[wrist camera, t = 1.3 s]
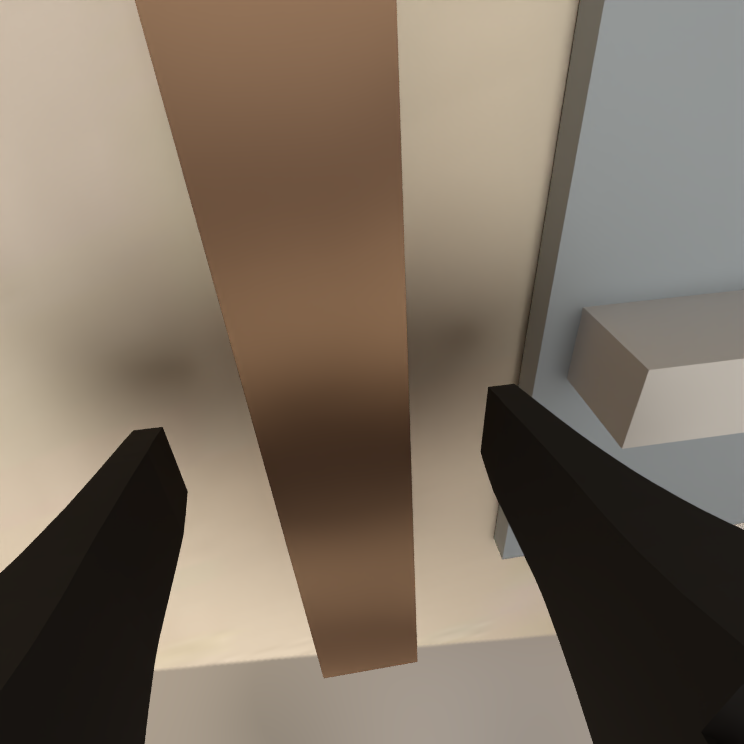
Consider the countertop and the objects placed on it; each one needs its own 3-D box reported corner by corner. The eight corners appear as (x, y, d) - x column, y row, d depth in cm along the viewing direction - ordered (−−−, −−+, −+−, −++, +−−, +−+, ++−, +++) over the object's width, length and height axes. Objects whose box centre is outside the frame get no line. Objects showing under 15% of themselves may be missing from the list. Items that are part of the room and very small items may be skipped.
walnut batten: (391, 531, 20) (417, 661, 16) (316, 543, 20) (324, 678, 16) (348, -63, 9) (392, -130, 5) (187, -50, 9) (103, -112, 5)
